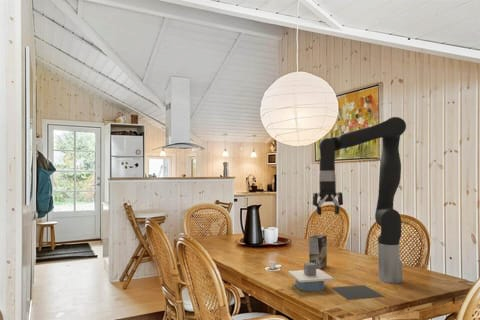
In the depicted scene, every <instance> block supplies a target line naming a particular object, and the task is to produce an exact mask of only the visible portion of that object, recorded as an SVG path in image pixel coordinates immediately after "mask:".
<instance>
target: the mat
mask: <svg viewBox="0 0 480 320" xmlns="http://www.w3.org/2000/svg"><path fill="white" fill-rule="evenodd" d="M330 289H331V290H333V291H334V292H336V293H337V294H339V295H340V296H342V297H343V298H344V299H346V300H347V301H351V300H352V301H354V300H365V299H366V300H367V299H377V298H379V299H380V298H386V297H385V296H384V295H383V294H381V293H379V292H377V291H376V290H374V289H373V288H370V287H369V286H367V285H365V284H360V285H359V284H358V285H349V286H347V285H346V286H345V285H344V286H333V287H330Z"/></svg>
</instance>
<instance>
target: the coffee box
mask: <svg viewBox="0 0 480 320" xmlns="http://www.w3.org/2000/svg"><path fill="white" fill-rule="evenodd" d="M327 237H328V236H327V235H321V234H316V235H312V236H309V237H308V253H309V254H308V255H309V256H308V257H309V258H308V259H309V260H308V263H314V264H315V265H316V269H320V270H322V269H323V268H325V267H327V266H328V249H327V247H328V245H327V241H328V240H327Z"/></svg>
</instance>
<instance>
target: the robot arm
mask: <svg viewBox="0 0 480 320" xmlns="http://www.w3.org/2000/svg"><path fill="white" fill-rule="evenodd" d="M406 129H407V124H406V122H405V120H404V119H403V118H401V117H399V116H392V117H389V118H388V119H386V120H385V121H382V122H380V123H376V124H375V125H371V126H367V127H364V128H359V129H356V130H351V131H347V132H344V133H341V134H339V135H337V136H332V137H325V138H323V139H321V140H320V142H319V144H318V147H319V153H320V154H319V157H320V160H319V177H318V179H319V181H318V182H319V192H313V193H312V206H314V207H316V213H317V215H319V216H322V205H323V204H324V203H327V202H328V203H333V204H334V214H335V215H339V214H340V206H342V205H343V204H344V200H343V193H342V192H337V191H336V190H337V189H336V188H337V185H336V184H337V181H336V180H337V179H336V166H335V165H336V163H335V155H336V151H340V150H344V149H348V148H352V147H355V146H359V145H361V144H364V143H367V142H370V141H373V140H377V139H381V138H382V140H381V141H382V148H381V156H380V163H379V164H380V165H379V177H378V180H379V181H378V193H377V194H378V195H377V203H376V209H375V214H374V218H375V222H376V223H377V225H378V226H379V227H380V234H379V236H378V238H377V256H378V258H377V260H378V280H379V281H380V282H383V283H386V284H395V285H396V284H397V285H398V284H401V283H403V261H402V260H401V250H400V247H401V245H400V241H401V238H402V218H401V214H400V212H399V211H397V210H396V209H395V208H394V201H395V194H397V193H396V192H397V190H398V188H399V186H400V182H401V178H402V177H401V175H402V162H401V156H400V150H399V149H400V139H401V136H402V135H403V134H404V133H405V131H406ZM319 197H320V198H319ZM336 197H337V199H336ZM318 198H319V200H318Z"/></svg>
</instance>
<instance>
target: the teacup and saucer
mask: <svg viewBox="0 0 480 320" xmlns="http://www.w3.org/2000/svg"><path fill="white" fill-rule="evenodd" d="M276 263H277V262H276V261H275V260H274V261H273V260H270V261H269V262H268V263H267V267H265V268H264V269H265V271H271V272H277V271H280V270H281V268H282V265H281V264H276Z"/></svg>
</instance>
